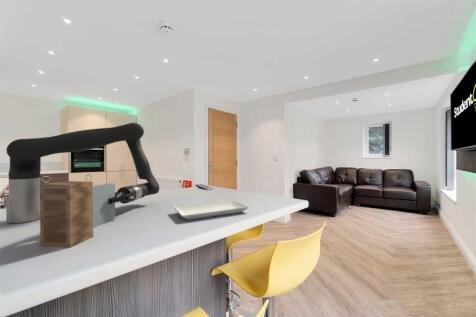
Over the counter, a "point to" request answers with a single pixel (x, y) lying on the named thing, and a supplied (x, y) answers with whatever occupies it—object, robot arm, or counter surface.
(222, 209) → the tray
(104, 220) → the door
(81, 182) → the cabinet
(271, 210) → the counter surface
